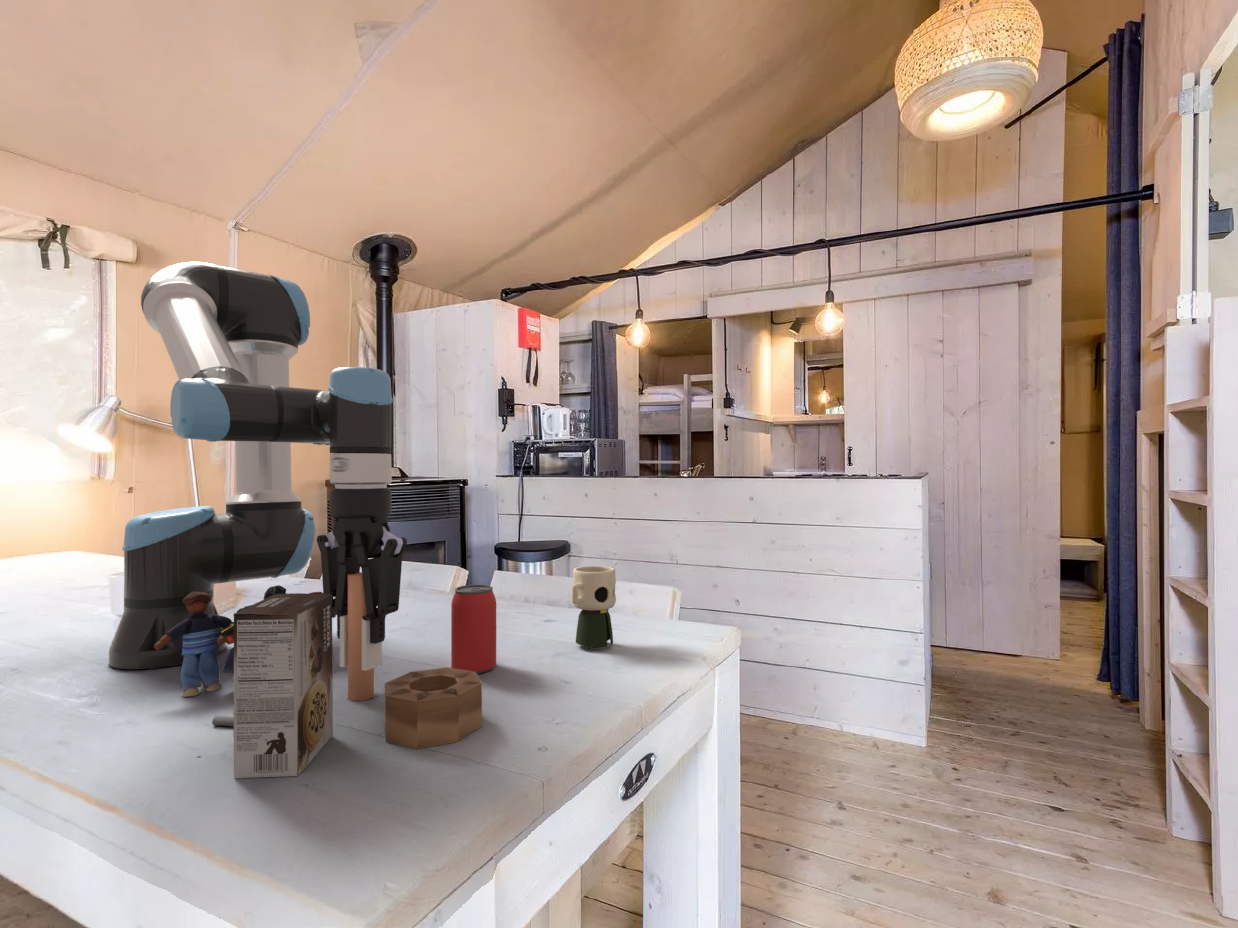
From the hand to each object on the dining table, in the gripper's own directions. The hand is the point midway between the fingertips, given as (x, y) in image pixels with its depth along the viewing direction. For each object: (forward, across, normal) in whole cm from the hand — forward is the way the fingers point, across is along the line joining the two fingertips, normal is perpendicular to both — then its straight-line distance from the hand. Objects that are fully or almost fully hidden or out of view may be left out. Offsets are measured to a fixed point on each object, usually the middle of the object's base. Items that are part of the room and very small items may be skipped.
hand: (360, 665), depth 81 cm
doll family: (+4, -20, 0) cm, 20 cm away
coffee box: (+4, +6, -16) cm, 17 cm away
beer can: (+4, +7, +15) cm, 17 cm away
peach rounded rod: (+4, 0, 0) cm, 4 cm away
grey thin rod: (+4, -4, -12) cm, 13 cm away
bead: (+4, +15, -4) cm, 16 cm away
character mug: (+4, +19, +32) cm, 37 cm away
